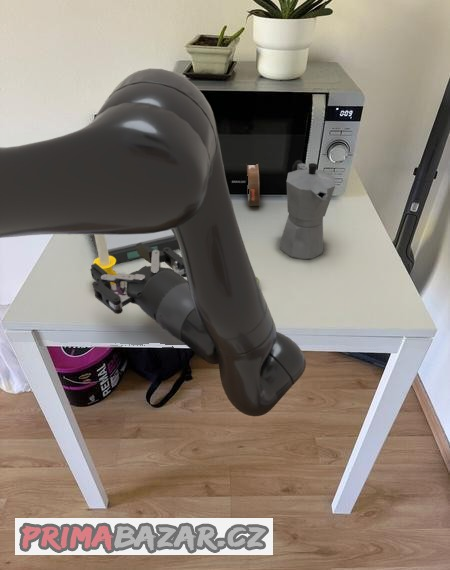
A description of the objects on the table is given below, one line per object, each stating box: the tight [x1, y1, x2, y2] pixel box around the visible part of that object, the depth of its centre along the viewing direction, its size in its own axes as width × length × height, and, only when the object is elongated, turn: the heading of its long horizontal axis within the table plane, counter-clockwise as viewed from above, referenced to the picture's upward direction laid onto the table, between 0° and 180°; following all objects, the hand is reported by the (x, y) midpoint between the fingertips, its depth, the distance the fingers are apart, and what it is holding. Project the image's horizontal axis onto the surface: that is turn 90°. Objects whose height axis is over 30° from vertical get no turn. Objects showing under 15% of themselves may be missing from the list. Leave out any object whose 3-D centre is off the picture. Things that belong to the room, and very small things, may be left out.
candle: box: [92, 234, 125, 293], centre depth 75 cm, size 5×5×16 cm
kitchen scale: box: [90, 229, 180, 265], centre depth 92 cm, size 16×16×3 cm
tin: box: [246, 163, 261, 207], centre depth 104 cm, size 15×3×8 cm, turn 179°
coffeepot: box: [279, 159, 336, 260], centre depth 86 cm, size 15×9×18 cm, turn 11°
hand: (116, 257), depth 72 cm, fingers open, 8 cm apart
